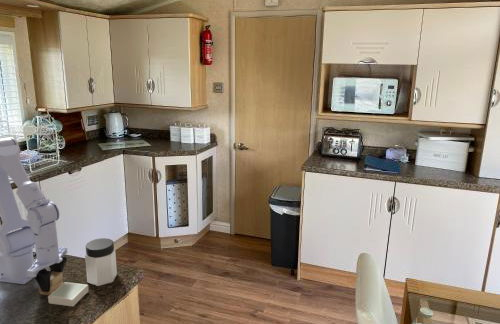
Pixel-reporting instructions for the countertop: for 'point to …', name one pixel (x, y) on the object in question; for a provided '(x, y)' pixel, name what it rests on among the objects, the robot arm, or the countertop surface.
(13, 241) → the robot arm
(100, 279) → the jar
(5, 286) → the countertop surface
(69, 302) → the tile base
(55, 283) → the oak block
